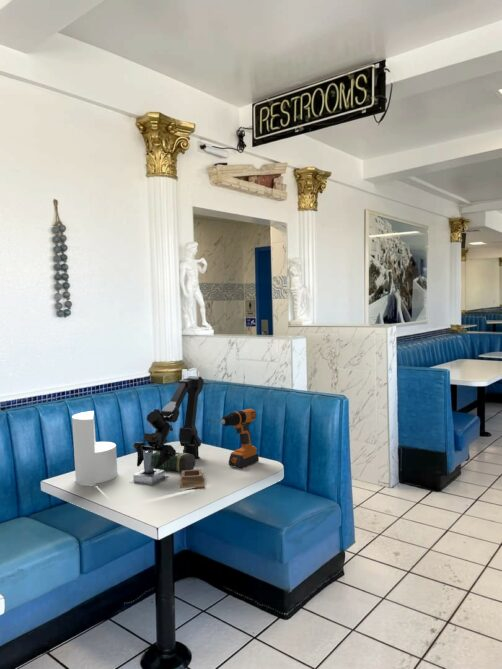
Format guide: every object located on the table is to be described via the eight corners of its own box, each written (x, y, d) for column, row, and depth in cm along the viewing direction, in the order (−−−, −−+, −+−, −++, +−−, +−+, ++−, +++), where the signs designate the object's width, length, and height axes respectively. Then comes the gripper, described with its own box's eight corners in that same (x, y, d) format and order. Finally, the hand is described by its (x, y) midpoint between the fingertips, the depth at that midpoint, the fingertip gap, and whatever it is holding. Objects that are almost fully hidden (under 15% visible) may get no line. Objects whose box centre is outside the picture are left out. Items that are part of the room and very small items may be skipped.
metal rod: (152, 477, 219) (150, 449, 218) (155, 479, 216) (154, 451, 215) (143, 479, 217) (141, 451, 216) (146, 481, 214) (145, 453, 213)
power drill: (230, 474, 222) (228, 417, 221) (218, 470, 227) (215, 415, 225) (261, 461, 239) (260, 407, 237) (249, 458, 244) (247, 406, 242)
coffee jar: (149, 470, 229) (185, 475, 221) (150, 452, 229) (185, 456, 222) (162, 466, 238) (197, 470, 230) (162, 449, 238) (197, 452, 230)
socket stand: (146, 475, 224) (146, 466, 224) (169, 478, 219) (169, 469, 219) (128, 484, 214) (128, 475, 213) (152, 488, 208) (152, 478, 208)
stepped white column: (74, 488, 212) (70, 421, 210) (77, 474, 229) (73, 412, 227) (118, 482, 217) (114, 417, 215) (117, 470, 233) (113, 408, 231)
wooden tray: (180, 477, 221) (179, 467, 221) (203, 475, 222) (203, 466, 222) (179, 490, 205) (179, 480, 205) (204, 488, 206) (204, 478, 206)
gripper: (134, 423, 222) (119, 455, 213) (171, 426, 214) (156, 460, 205) (146, 436, 230) (132, 468, 221) (182, 440, 222) (168, 473, 213)
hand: (146, 467), depth 215 cm, fingers open, 9 cm apart
